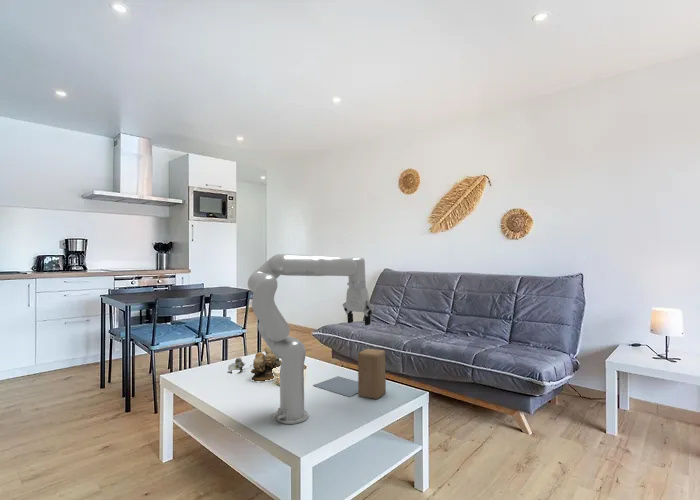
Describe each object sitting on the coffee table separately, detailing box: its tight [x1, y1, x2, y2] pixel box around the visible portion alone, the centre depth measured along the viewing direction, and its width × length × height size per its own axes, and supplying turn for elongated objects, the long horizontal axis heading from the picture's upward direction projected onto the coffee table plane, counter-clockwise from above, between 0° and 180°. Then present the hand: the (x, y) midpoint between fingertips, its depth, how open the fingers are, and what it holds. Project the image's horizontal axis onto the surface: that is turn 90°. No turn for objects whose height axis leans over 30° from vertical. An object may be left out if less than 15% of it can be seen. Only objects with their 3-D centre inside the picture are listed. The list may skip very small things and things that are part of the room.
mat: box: [312, 375, 359, 398], centre depth 194 cm, size 18×24×1 cm
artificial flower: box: [227, 357, 253, 371], centre depth 225 cm, size 9×22×10 cm, turn 129°
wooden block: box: [357, 348, 387, 400], centre depth 182 cm, size 10×10×20 cm
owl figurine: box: [250, 345, 282, 381], centre depth 209 cm, size 18×12×17 cm, turn 136°
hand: (358, 323), depth 176 cm, fingers open, 9 cm apart
